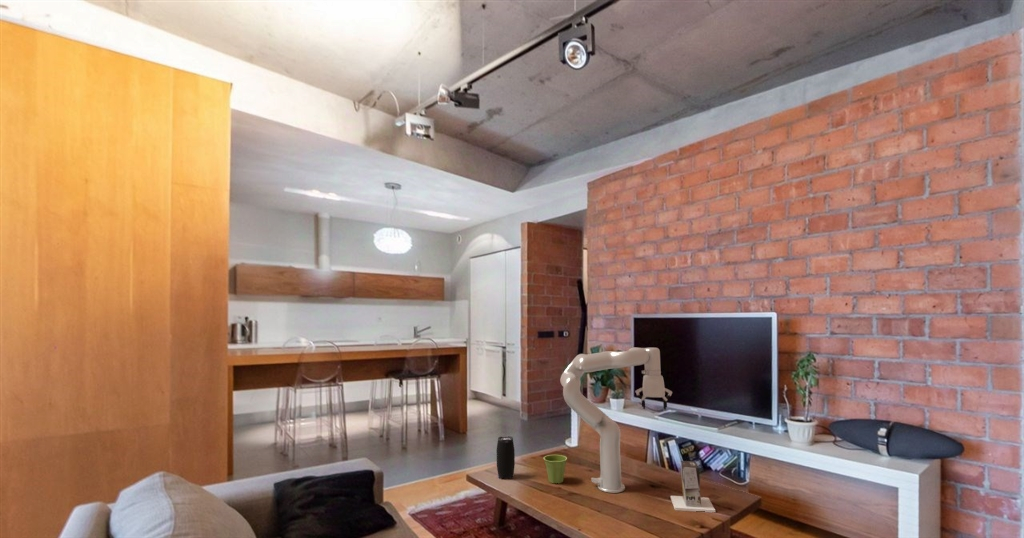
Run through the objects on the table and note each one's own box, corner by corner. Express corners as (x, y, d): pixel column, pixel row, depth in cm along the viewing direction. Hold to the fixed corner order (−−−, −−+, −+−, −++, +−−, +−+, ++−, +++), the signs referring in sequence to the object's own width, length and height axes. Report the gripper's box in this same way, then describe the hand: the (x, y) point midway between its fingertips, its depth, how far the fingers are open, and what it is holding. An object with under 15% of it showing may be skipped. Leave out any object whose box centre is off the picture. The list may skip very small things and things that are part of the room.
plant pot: (571, 479, 229) (571, 456, 230) (561, 487, 219) (560, 463, 220) (550, 475, 235) (550, 453, 236) (539, 482, 225) (539, 459, 226)
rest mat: (674, 510, 192) (674, 507, 192) (670, 497, 204) (670, 495, 205) (715, 512, 189) (715, 510, 189) (708, 500, 201) (708, 497, 201)
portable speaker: (493, 476, 235) (493, 437, 237) (509, 472, 240) (508, 434, 242) (502, 481, 228) (502, 441, 230) (518, 477, 233) (517, 438, 235)
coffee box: (701, 507, 192) (699, 467, 193) (685, 506, 193) (683, 466, 195) (697, 498, 201) (695, 460, 202) (682, 497, 202) (680, 460, 204)
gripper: (635, 373, 222) (636, 409, 220) (672, 374, 218) (674, 410, 217) (634, 371, 229) (635, 406, 227) (670, 372, 226) (671, 407, 224)
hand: (654, 408), depth 222 cm, fingers open, 9 cm apart
